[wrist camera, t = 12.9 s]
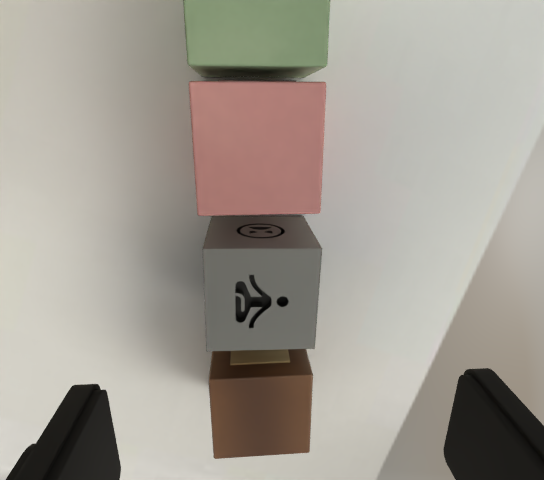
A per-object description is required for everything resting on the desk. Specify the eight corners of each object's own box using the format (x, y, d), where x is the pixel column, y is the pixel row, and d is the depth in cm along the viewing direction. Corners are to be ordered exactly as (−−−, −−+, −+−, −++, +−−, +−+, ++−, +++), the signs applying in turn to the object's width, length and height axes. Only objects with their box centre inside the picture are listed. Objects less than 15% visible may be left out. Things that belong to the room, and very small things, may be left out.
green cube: (308, -48, 17) (335, -110, 12) (305, 77, 18) (327, 66, 14) (194, -52, 16) (174, -117, 11) (201, 77, 18) (187, 65, 13)
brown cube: (298, 318, 23) (313, 372, 18) (296, 386, 24) (309, 453, 20) (215, 321, 22) (208, 378, 18) (219, 390, 24) (213, 459, 19)
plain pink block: (305, 86, 18) (327, 79, 14) (302, 189, 20) (320, 213, 15) (201, 86, 18) (188, 77, 13) (207, 190, 20) (197, 216, 15)
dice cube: (211, 216, 20) (202, 248, 15) (303, 216, 21) (322, 248, 16) (214, 298, 22) (206, 351, 17) (299, 297, 22) (314, 348, 18)
